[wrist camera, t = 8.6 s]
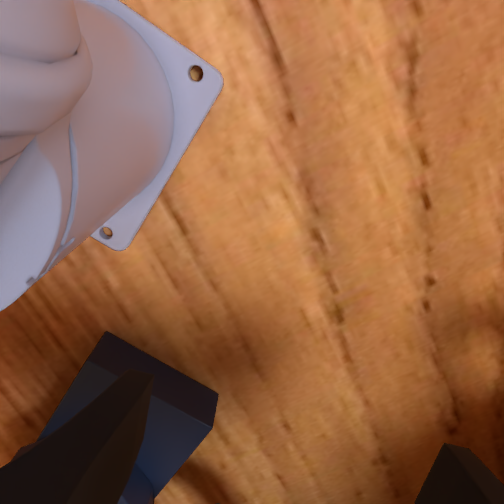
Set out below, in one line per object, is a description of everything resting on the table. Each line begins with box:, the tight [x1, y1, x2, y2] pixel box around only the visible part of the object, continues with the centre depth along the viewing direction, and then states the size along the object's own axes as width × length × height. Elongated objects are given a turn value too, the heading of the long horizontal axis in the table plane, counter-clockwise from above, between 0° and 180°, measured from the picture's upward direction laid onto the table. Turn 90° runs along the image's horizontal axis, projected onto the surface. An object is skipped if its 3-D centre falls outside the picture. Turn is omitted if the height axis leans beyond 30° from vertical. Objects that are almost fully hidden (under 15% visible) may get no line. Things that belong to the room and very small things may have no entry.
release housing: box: [11, 331, 219, 504], centre depth 20 cm, size 7×10×4 cm, turn 147°
